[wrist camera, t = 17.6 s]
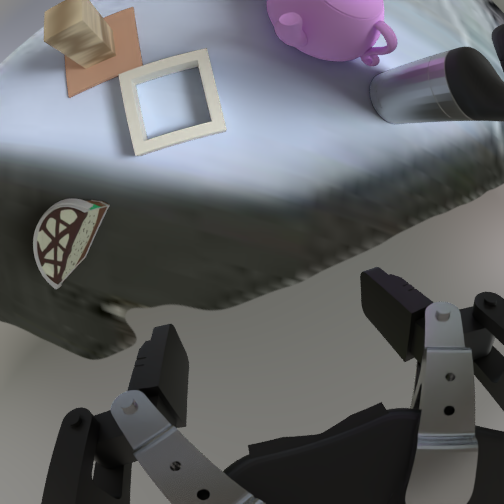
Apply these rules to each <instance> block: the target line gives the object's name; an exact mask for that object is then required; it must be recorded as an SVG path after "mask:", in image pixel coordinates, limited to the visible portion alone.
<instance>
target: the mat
mask: <svg viewBox="0 0 504 504" xmlns="http://www.w3.org/2000/svg"><path fill="white" fill-rule="evenodd" d="M103 19H104V20H105V21H106V23H107V24H108V25H109V26H110V28H111V29H112V30H113V36H114V43H115V50H116V56H114V57H112V58H109V59H107V60H105V61H102V62H100V63H98V64H95V65H93V66H91V67H89V68H87V69H85V68H84V67H82V66H81V65H79V64H78V63H76V62H75V61H73V60H72V59H70V58H69V57H67V56H66V55H65V68H66V78H67V87H68V95H69V98H71V97H73V96H75V95H77V94H79V93H81V92H83V91H85V90H87V89H90V88H92V87H94V86H96V85H98V84H101V83H103V82H105V81H108V80H110V79H113V78H115V77H118V76H119V75H118V74H121V73H124V72H126V71H129V70H132V69H134V68H137V67H140V66H143V63H142V58H141V52H140V47H139V41H138V34H137V28H136V21H135V14H134V8H133V7H131V8H128V9H125V10H122V11H120V12H117V13H114V14H112V15H109V16H107V17H105V18H103Z"/></svg>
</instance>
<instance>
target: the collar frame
mask: <svg viewBox="0 0 504 504" xmlns="http://www.w3.org/2000/svg"><path fill="white" fill-rule="evenodd" d="M196 67H198V68H199V72H200V76H201V81H202V85H203V89H204V93H205V97H206V102H207V106H208V110H209V114H210V118H211V122H207V123H203V124H199V125H196V126H192V127H188V128H185V129H181V130H178V131H174V132H171V133H168V134H164V135H161V136H158V137H155V138H152V139H149V140H148V139H147V134H146V130H145V126H144V121H143V117H142V112H141V107H140V103H139V98H138V93H137V88H136V85H138V84H141V83H144V82H147V81H150V80H153V79H156V78H159V77H162V76H166V75H169V74H173V73H176V72H180V71H184V70H188V69H191V68H196ZM118 75H119V81H120V86H121V92H122V97H123V102H124V107H125V112H126V117H127V122H128V126H129V131H130V135H131V140H132V144H133V148H134V152H135V156H143V155H146V154H149V153H152V152H155V151H158V150H161V149H164V148H167V147H171V146H174V145H177V144H181V143H184V142H188V141H191V140H195V139H199V138H203V137H207V136H210V135H214V134H219V133H223V132H225V131H226V130H227V129H226V125H225V121H224V117H223V113H222V109H221V104H220V100H219V96H218V92H217V88H216V84H215V80H214V76H213V72H212V68H211V64H210V59H209V55H208V51H207V48H205V49H200V50H196V51H192V52H188V53H184V54H180V55H176V56H172V57H169V58H165V59H162V60H159V61H155V62H152V63H149V64H146V65H143V66H140V67H137V68H134V69H132V70H129V71H126V72H124V73H121V74H118Z"/></svg>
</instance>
